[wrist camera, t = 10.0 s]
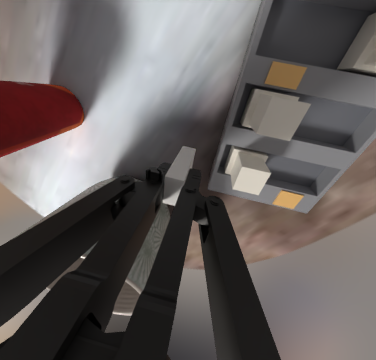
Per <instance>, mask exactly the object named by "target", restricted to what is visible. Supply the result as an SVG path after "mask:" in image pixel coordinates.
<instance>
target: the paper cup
mask: <svg viewBox="0 0 376 360" xmlns="http://www.w3.org/2000/svg"><path fill="white" fill-rule="evenodd" d="M83 120H84V112H83V108H82V106H81V104H80V102H79V100H78V99H77V98H76V96H75V95H74V94H73V93H72V92H71V91H69V90H68V89H66V88H64V87H62V86H58V85H50V84H38V83H25V82H12V81H0V157H3V156H5V155H8V154H10V153H13V152H16V151H18V150H21V149H23V148H26V147H28V146H31V145H34V144H36V143H39V142H41V141H44V140H46V139H49V138H52V137H54V136H57V135H59V134H62V133H64V132H67V131H69V130H72V129H74V128H76V127H78V126H80V125H81V124H82V123H83Z"/></svg>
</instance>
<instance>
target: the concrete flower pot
mask: <svg viewBox="0 0 376 360" xmlns="http://www.w3.org/2000/svg"><path fill="white" fill-rule="evenodd" d="M117 178H118V177H117ZM115 179H116V178H111V179H107V180H104V181H101V182H99V183H97V184H95V185H93V186H91V187H89V188H88V189H86V190H85V191H83V192H82V193H80V194H79V195H77V196H76V197H74V198H73V199H71V200H70V201H68V202H67V203H65V204H64V205H62V206H61V207H59V208H58V209H56V210H55V211H53V212H52V213H50V214H49V215H47V216H46V217H44V218H43V219H42V220H40V221H39V222H37V223H36V224H34V225H33V226H31V227H29V228H28V229H26V230H25V231H27V230H29V229H31V228H32V227H34V226H36V225H37V224H39V223H41V222H43V221H44V220H46V219H48V218H49V217H51V216H53V215H55V214H56V213H58V212H60V211H61V210H63V209H65V208H67V207H68V206H70V205H72V204H73V203H75V202H77V201H79V200H80V199H82V198H84V197H85V196H87V195H89V194H91V193H92V192H94V191H96V190H97V189H99V188H101V187H103V186H104V185H106V184H108V183H109V182H111V181H113V180H115ZM135 181H139V182H142V181H140V180H137V179H135ZM117 201H118V200H117ZM117 201H116V202H117ZM162 202H163V199H162V201H161V207H160V209H159V211H158V213H157V215H156V218H155V220H154V222H153V224H152V226H151V228H150V230H149V232H148V234H147V236H146V239H145V241H144V243H143V245H142V247H141V249H140V251H139V253H138V255H137V257H136V259H135V262H134V264H133V266H132V268H131V270H130V272H129V274H128V276H127V278H126V280H125V283H124V285H123V287H122V289H121V291H120V293H119V295H118V297H117V300H116V302H115V305H114V310H113V313H112V314H118V315H128V316H132V313H133V310H134V308H135V305H136V303H137V300H138V298H139V296H140V294H141V292H142V291H143V289H144V287H145V285H146V282H147V280H148V277H149V274H150V271H151V269H152V266H153V263H154V261H155V258H156V255H157V253H158V250H159V247H160V245H161V242H162V239H163V236H164V234H165V231H166V228H167V226H168V223H169V220H170V212H169V208H168V205H167V204H165V203H162ZM25 231H23V232H22V233H24V232H25ZM22 233H20V234H22ZM20 234H19V235H20ZM19 235H18V236H19ZM16 237H17V236H16ZM96 244H97V243H96ZM96 244H94V245H93V246H92V247H91V248H90V249H89V250H88V251H87V252H86V253H84V254H83V255H82V256H81V257H80V258H79V259H78V260H77V261H76V262H74V263H73V264H72V265H71V266H70V267H69V268H68V269H67V270H66V271H64V272H63V273H62V274H61V275H60V276H59V277H58V278H57V279H56V280H54V281H53V282H52V283H51V284H50V285H49V286H48V287H47V288H46V289H48V290H49V291H50V290H51V288H52V287H53V286H54V285H55V284H56V282H57V281H58V280H59V279H60V278H61V277H62V276H63V275H65V274H66V273H68V272H71V271H74V270H75V269H77V268H78V267H79V266H80V264H81V263H82V262H83V260H84V259H85V258H86V257H87V255H88V254H89V253H90V251H91V250H92V249H93V247H94V246H95V245H96Z"/></svg>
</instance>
